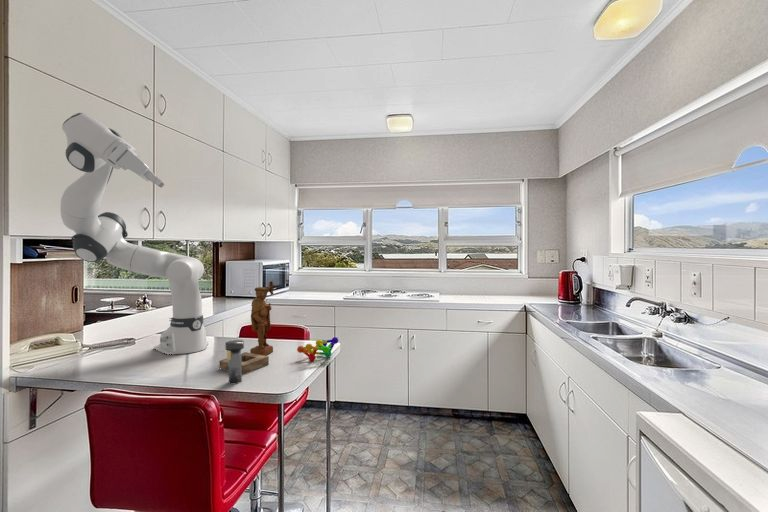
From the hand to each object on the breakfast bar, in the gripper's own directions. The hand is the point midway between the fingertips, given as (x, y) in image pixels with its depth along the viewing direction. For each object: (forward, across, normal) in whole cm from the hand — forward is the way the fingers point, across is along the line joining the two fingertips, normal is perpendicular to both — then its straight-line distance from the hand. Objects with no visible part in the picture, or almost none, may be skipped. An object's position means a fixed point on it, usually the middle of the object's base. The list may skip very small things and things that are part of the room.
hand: (161, 184), depth 128 cm
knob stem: (+56, +16, -38) cm, 69 cm away
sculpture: (+67, -12, -31) cm, 75 cm away
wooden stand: (+60, +1, -36) cm, 69 cm away
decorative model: (+81, +3, -19) cm, 83 cm away
